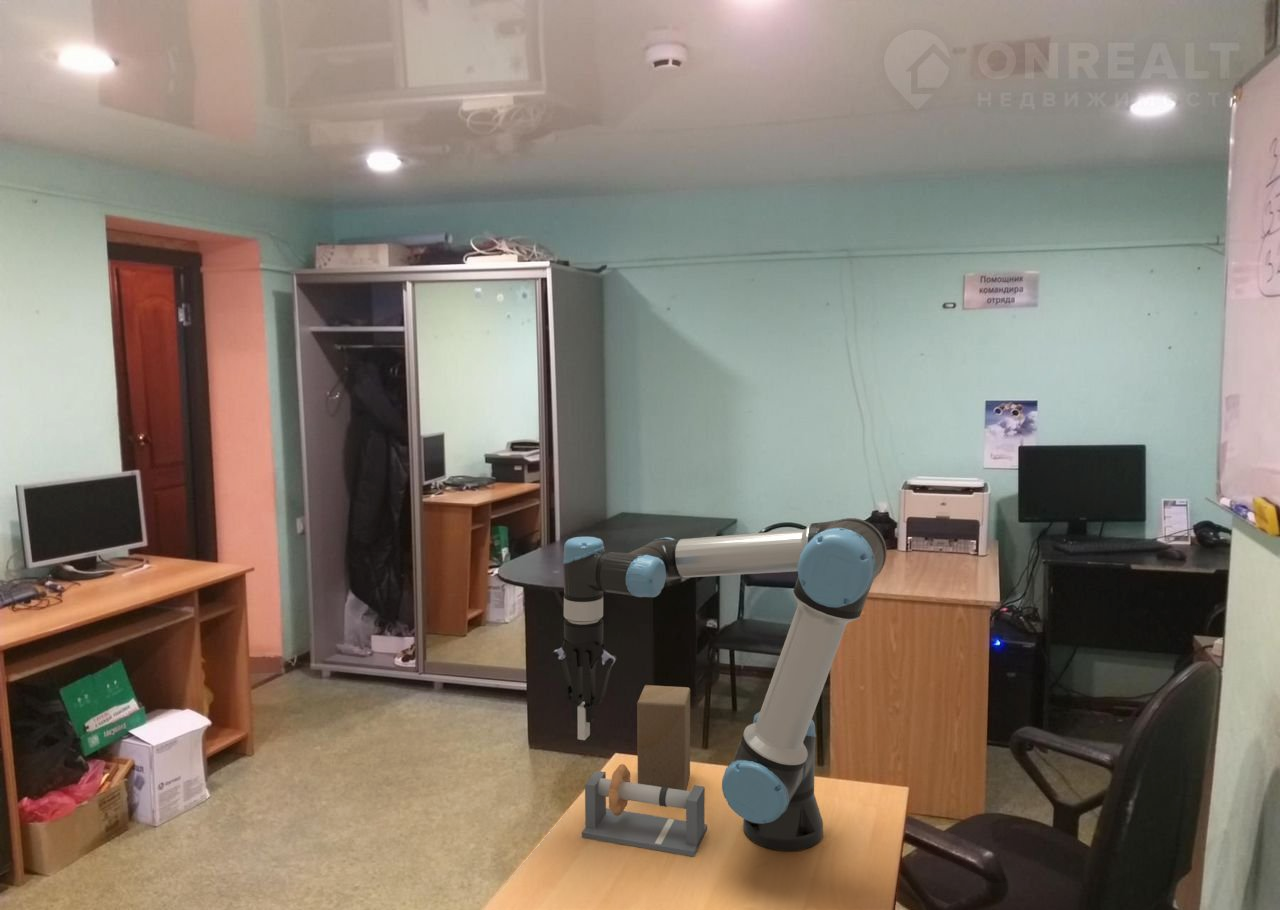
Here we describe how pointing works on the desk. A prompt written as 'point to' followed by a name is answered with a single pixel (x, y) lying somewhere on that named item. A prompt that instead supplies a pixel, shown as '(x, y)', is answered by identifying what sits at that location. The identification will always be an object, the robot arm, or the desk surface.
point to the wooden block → (664, 736)
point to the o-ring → (617, 777)
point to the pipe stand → (645, 817)
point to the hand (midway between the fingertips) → (583, 736)
